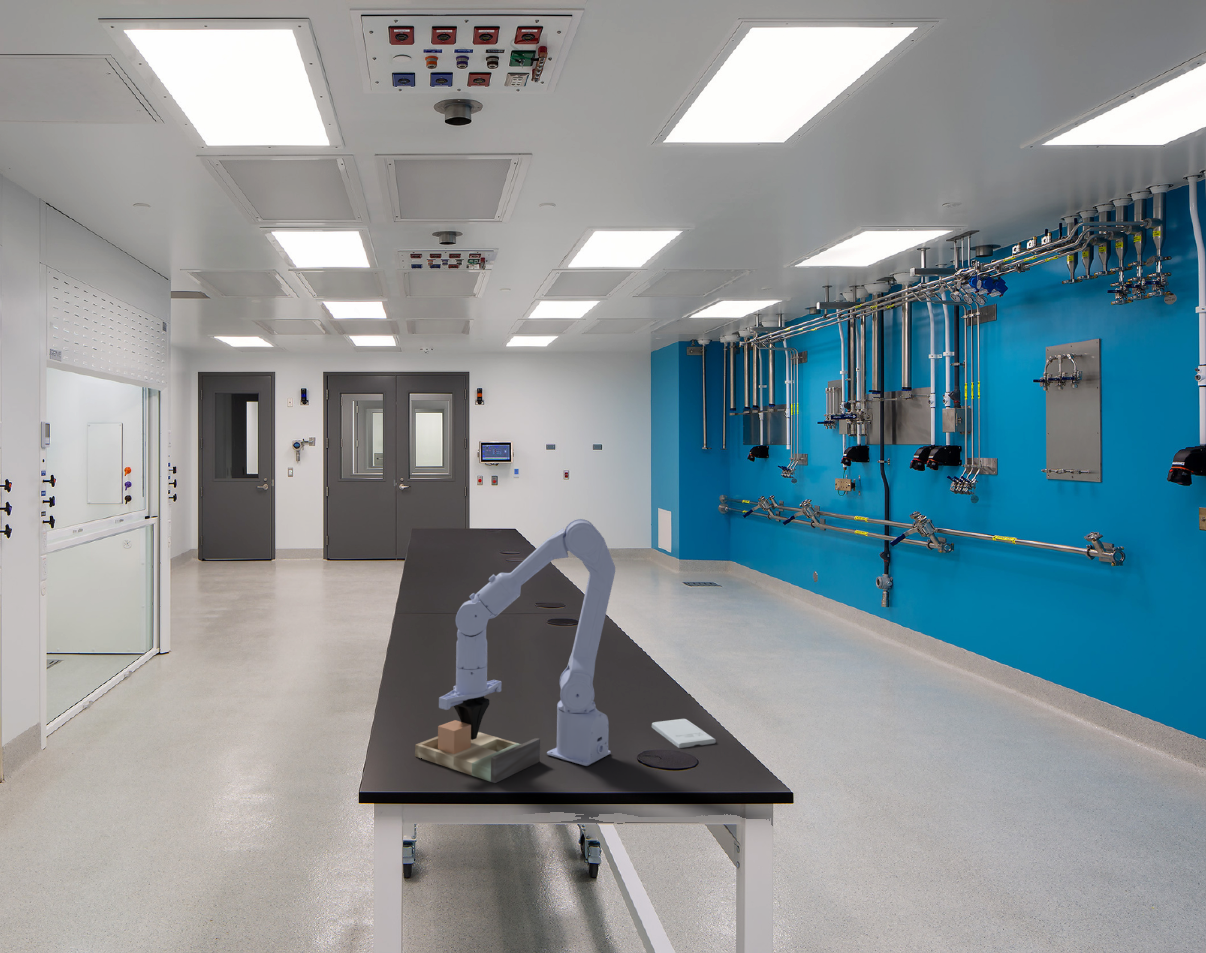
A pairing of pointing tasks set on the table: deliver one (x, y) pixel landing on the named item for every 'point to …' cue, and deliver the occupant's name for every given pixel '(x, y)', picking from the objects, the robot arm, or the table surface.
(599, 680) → the table surface
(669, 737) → the external hard drive
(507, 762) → the trap board
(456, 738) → the block
